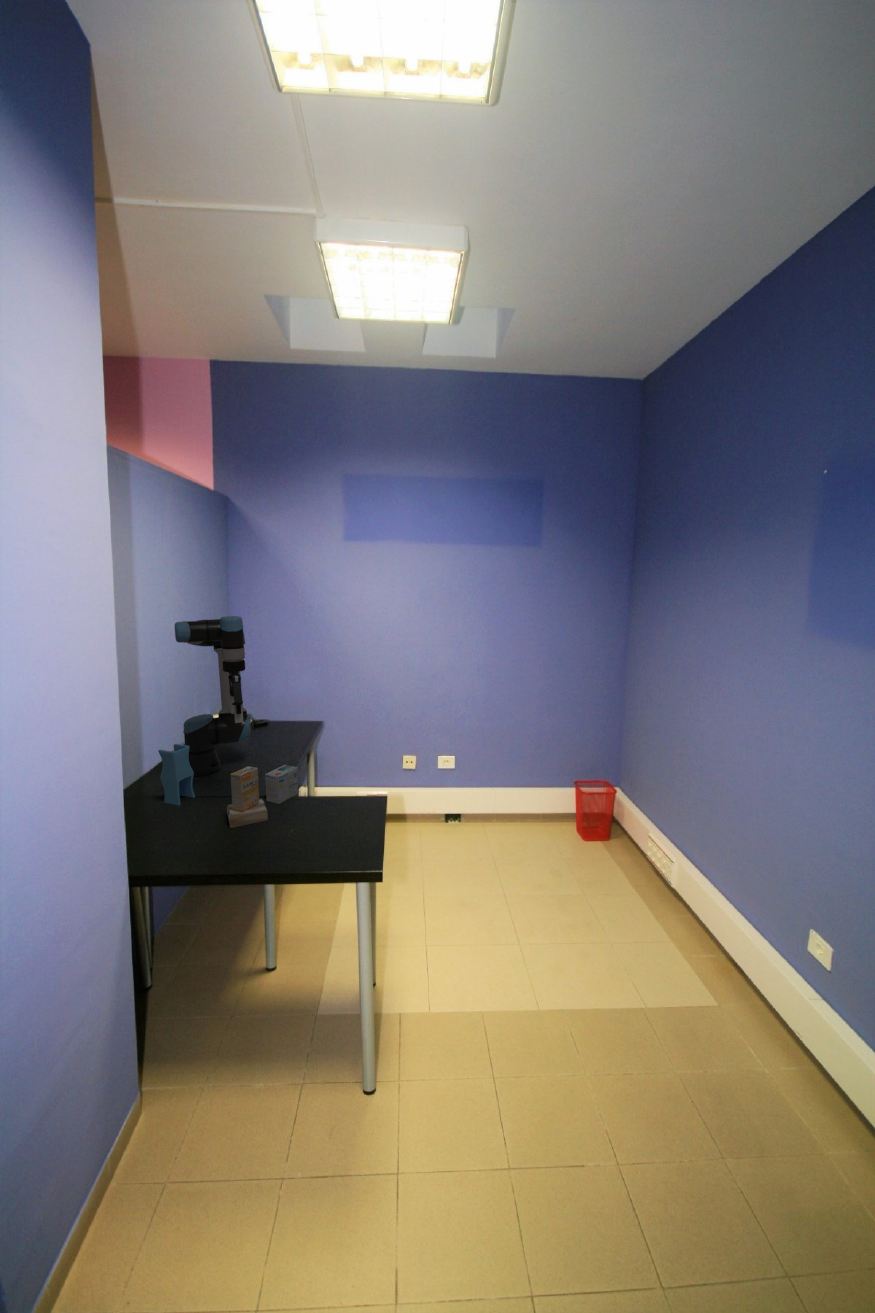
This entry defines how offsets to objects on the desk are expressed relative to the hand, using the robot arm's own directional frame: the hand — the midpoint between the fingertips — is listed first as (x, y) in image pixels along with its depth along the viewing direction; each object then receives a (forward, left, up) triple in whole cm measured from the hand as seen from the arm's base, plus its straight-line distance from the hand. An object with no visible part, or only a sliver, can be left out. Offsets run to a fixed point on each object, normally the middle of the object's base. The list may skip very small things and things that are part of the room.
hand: (237, 717), depth 188 cm
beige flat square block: (+16, 0, -32) cm, 35 cm away
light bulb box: (+4, +14, -32) cm, 35 cm away
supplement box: (+16, 0, -28) cm, 32 cm away
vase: (-11, -21, -32) cm, 40 cm away
